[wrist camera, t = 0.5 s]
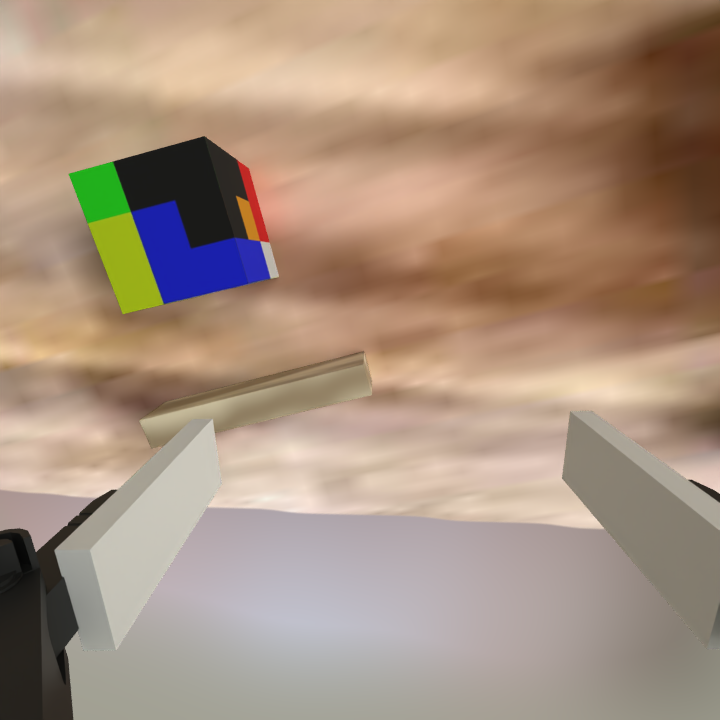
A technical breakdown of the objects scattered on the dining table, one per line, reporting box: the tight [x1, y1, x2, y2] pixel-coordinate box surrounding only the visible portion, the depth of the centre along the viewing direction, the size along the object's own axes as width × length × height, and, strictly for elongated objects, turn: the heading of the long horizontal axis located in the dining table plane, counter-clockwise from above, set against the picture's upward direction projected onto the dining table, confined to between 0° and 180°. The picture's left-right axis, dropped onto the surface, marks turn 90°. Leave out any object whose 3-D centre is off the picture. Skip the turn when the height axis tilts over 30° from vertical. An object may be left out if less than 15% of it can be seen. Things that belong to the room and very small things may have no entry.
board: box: [140, 352, 372, 448], centre depth 39 cm, size 3×22×5 cm, turn 105°
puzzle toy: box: [69, 136, 279, 314], centre depth 33 cm, size 10×10×10 cm
